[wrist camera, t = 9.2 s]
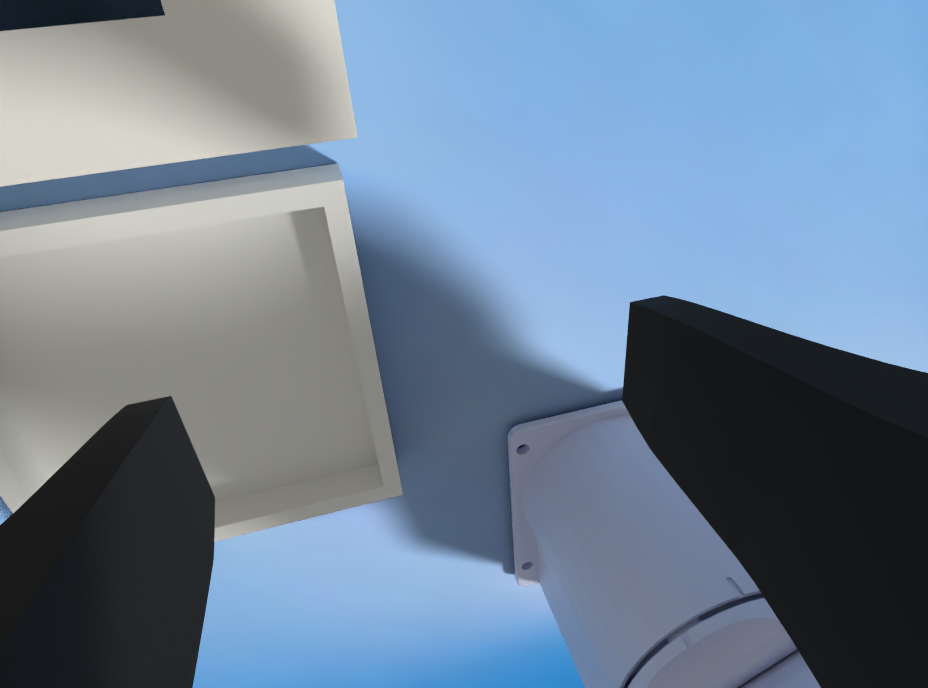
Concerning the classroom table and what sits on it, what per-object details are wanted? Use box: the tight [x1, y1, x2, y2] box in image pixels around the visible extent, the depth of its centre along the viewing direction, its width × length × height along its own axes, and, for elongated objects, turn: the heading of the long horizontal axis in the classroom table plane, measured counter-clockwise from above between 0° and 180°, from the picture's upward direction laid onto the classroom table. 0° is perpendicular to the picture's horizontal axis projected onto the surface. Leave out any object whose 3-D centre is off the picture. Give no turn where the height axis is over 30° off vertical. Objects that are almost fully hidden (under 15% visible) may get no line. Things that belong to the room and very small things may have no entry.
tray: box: [0, 163, 403, 542], centre depth 17 cm, size 11×11×2 cm
